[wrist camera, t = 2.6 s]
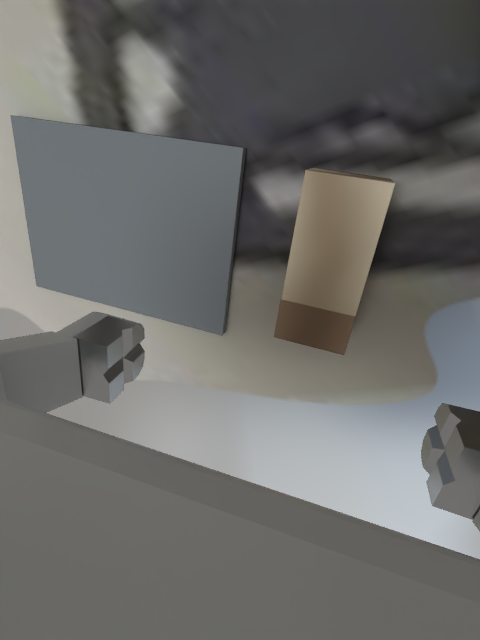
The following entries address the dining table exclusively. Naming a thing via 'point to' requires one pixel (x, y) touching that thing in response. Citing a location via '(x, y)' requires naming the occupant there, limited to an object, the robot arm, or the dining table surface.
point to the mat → (132, 218)
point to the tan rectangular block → (331, 256)
